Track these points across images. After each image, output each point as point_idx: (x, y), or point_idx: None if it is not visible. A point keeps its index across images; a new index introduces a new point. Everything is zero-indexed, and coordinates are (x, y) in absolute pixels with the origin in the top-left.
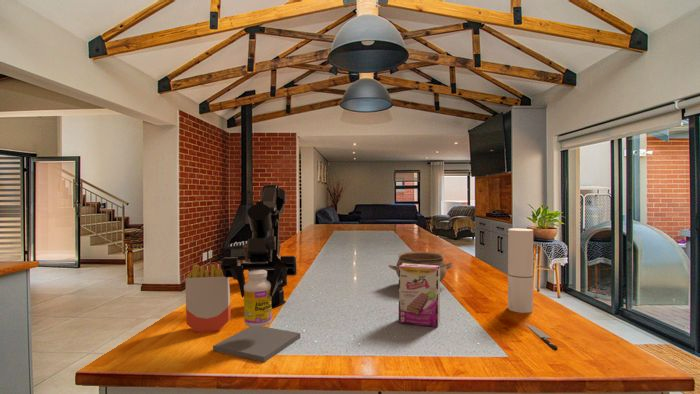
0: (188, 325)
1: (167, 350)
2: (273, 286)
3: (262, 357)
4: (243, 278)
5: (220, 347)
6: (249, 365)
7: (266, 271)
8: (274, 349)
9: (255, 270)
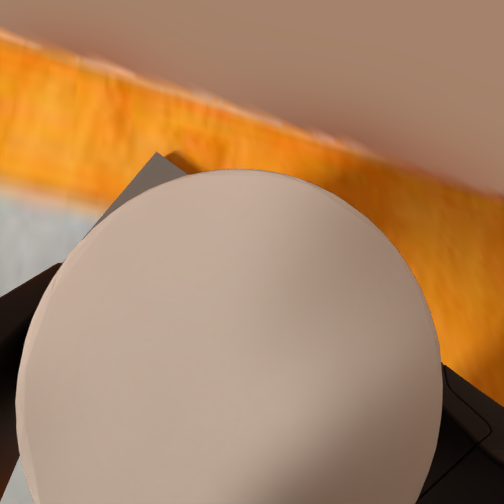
0: None
1: (471, 320)
2: (8, 303)
3: (163, 159)
4: (432, 488)
5: None
6: (205, 152)
7: (27, 366)
8: (117, 205)
9: None
